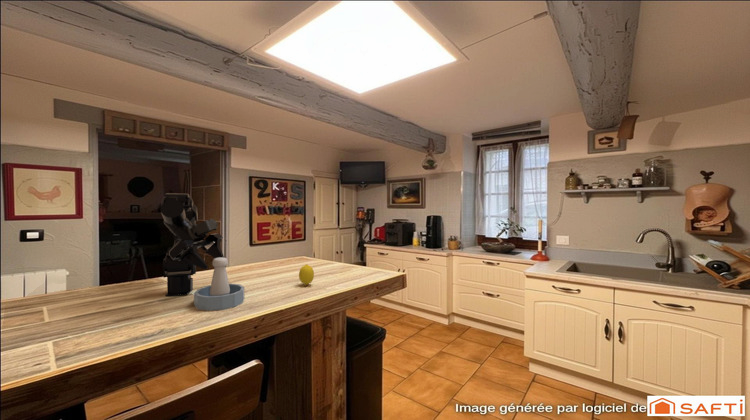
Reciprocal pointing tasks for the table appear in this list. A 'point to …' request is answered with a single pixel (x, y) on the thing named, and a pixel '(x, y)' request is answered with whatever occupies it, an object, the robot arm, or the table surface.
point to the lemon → (306, 274)
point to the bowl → (218, 298)
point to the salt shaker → (219, 278)
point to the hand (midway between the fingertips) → (215, 264)
